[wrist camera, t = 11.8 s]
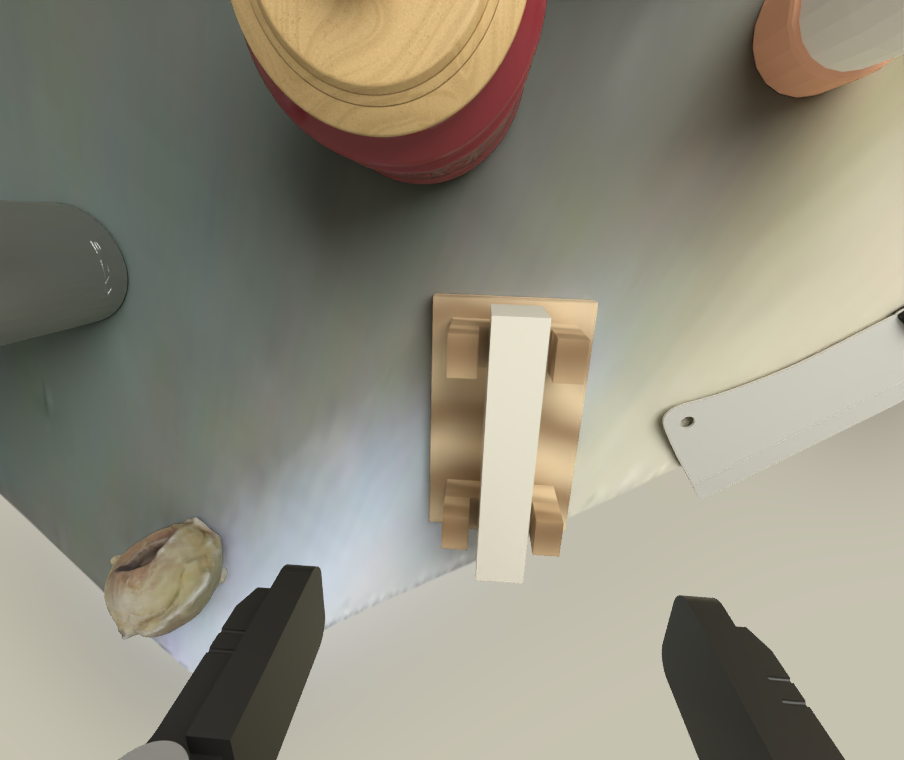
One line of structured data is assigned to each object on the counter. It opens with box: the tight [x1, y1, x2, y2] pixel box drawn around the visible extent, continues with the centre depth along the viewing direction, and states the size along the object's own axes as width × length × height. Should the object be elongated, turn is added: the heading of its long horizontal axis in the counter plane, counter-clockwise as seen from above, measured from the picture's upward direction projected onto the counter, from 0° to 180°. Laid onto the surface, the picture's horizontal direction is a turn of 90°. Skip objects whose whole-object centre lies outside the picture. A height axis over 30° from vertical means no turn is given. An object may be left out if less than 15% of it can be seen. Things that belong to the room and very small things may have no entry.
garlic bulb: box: [104, 517, 227, 639], centre depth 40 cm, size 9×8×10 cm
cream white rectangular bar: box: [476, 304, 551, 584], centre depth 31 cm, size 20×4×4 cm, turn 178°
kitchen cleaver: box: [662, 307, 904, 499], centre depth 33 cm, size 31×2×10 cm
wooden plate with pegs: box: [429, 293, 598, 556], centre depth 34 cm, size 20×12×6 cm, turn 178°
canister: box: [231, 0, 547, 184], centre depth 21 cm, size 13×13×18 cm
